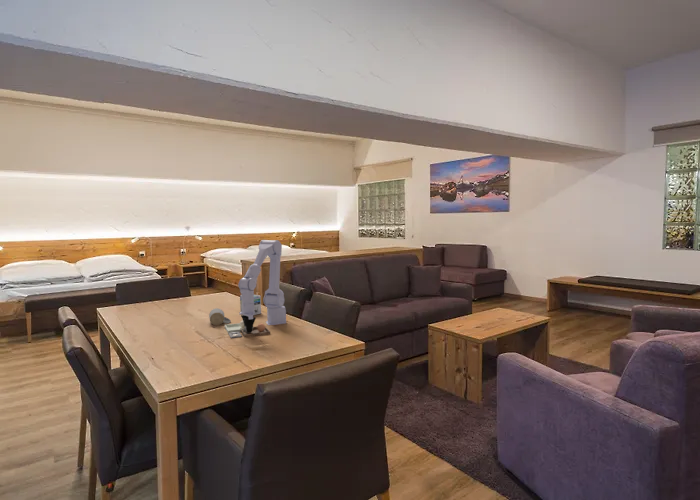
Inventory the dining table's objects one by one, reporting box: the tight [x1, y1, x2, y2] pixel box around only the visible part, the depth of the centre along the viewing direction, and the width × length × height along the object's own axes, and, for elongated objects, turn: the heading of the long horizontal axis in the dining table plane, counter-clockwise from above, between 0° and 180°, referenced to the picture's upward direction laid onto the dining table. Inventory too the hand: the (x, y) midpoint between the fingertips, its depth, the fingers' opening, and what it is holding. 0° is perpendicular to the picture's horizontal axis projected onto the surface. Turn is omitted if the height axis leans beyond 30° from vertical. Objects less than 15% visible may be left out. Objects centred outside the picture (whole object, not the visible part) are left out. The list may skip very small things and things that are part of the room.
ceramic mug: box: [208, 307, 232, 326], centre depth 216 cm, size 11×8×8 cm
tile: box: [227, 332, 243, 339], centre depth 194 cm, size 5×8×1 cm, turn 24°
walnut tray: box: [240, 325, 271, 338], centre depth 198 cm, size 12×12×2 cm
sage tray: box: [224, 322, 244, 334], centre depth 205 cm, size 12×12×2 cm
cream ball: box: [239, 319, 245, 328], centre depth 206 cm, size 4×4×4 cm
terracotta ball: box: [257, 323, 266, 332], centre depth 199 cm, size 4×4×4 cm
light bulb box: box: [239, 294, 262, 316], centre depth 239 cm, size 11×7×11 cm, turn 58°
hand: (248, 330), depth 197 cm, fingers closed on grey ball, 4 cm apart
